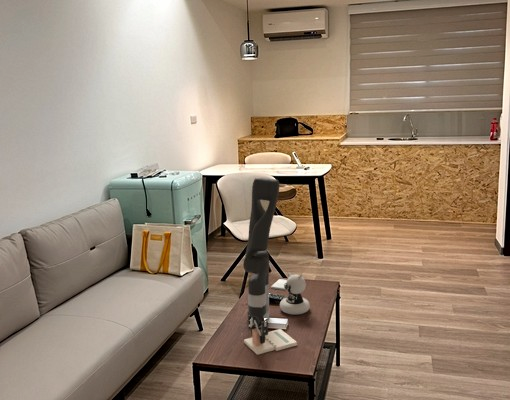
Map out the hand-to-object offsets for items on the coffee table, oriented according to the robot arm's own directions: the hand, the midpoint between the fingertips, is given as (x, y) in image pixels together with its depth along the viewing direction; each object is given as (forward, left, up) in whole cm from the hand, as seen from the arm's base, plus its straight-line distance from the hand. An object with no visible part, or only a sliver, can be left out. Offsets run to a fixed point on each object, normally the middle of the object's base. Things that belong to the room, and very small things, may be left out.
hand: (258, 339), depth 224 cm
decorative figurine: (-24, +33, -4) cm, 41 cm away
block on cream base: (0, 0, -3) cm, 4 cm away
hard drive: (-55, +44, -4) cm, 71 cm away
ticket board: (0, +10, -3) cm, 10 cm away
